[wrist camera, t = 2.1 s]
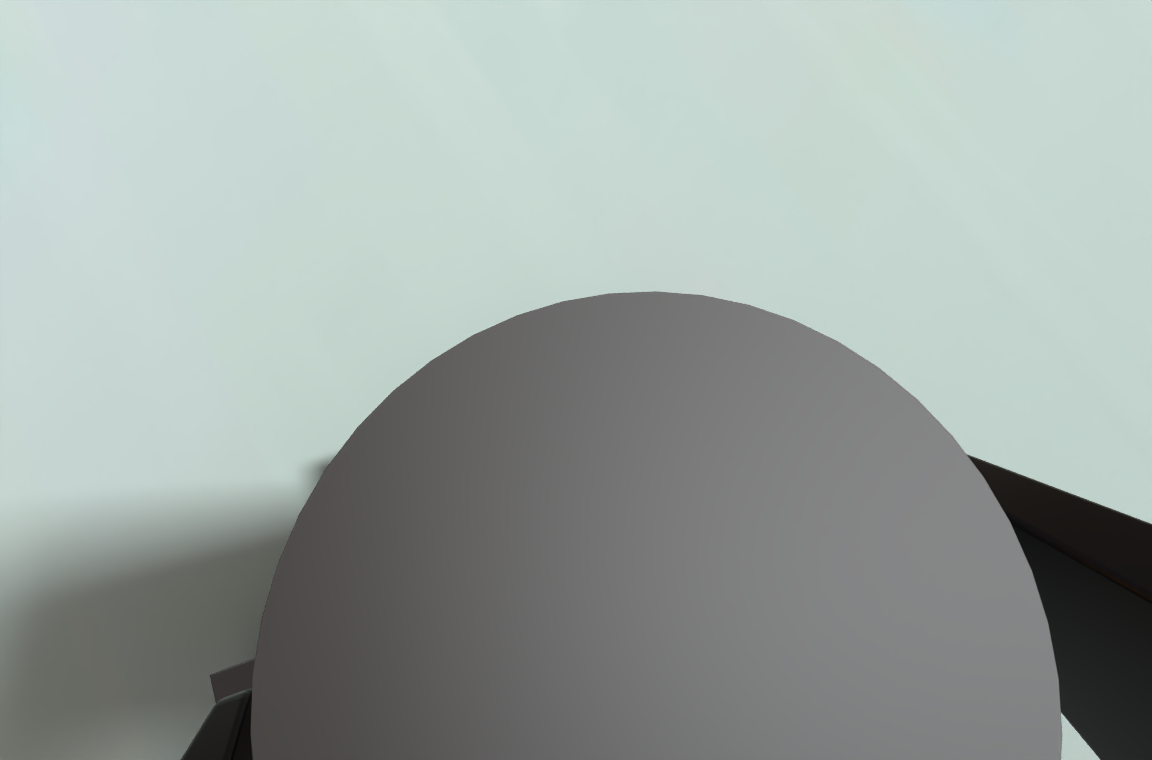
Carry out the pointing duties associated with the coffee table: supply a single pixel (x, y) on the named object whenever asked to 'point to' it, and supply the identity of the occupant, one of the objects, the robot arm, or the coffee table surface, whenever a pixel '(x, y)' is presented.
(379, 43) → the coffee table surface
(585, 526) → the orange-banded grey cylinder
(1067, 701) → the robot arm
